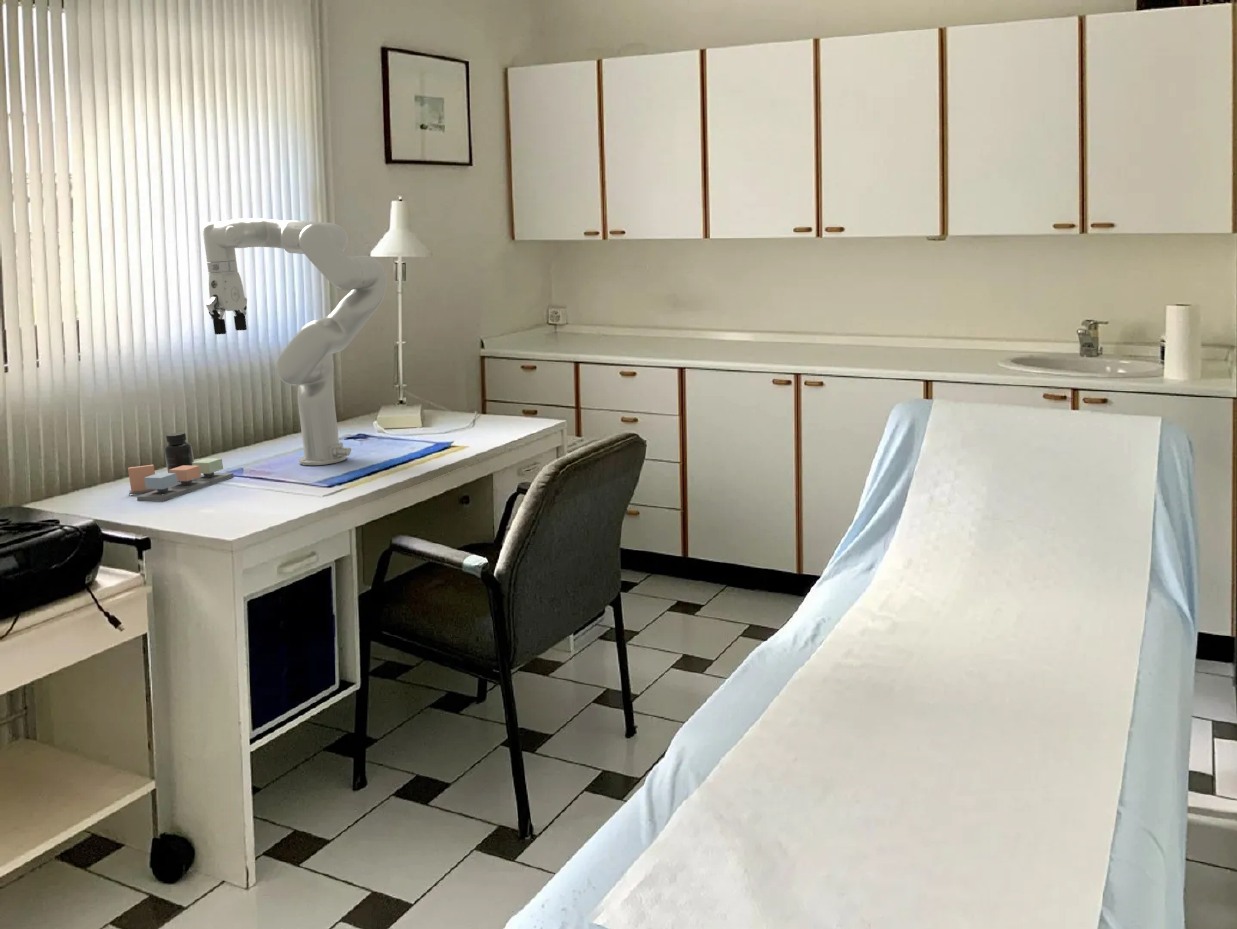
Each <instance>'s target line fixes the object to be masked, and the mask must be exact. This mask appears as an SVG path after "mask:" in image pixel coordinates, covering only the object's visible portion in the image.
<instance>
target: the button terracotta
mask: <svg viewBox="0 0 1237 929" xmlns="http://www.w3.org/2000/svg"><path fill="white" fill-rule="evenodd" d="M169 473H176V474H177V481H178V482H181V484H186V483H191V482H192V479H195V478H198V477H201V475H202V473H201V472H200V466H192V465H183V466H179V467H176V468H173V469H170V470H169Z"/></svg>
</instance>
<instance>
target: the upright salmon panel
mask: <svg viewBox="0 0 1237 929" xmlns="http://www.w3.org/2000/svg"><path fill="white" fill-rule="evenodd" d="M127 471H128V472H127V473H128V477H129V485H130V490H129V492H128V493H129V494H139V495H143V494H146V493H149V492H152V491H155V490H157V489H146V485H145V477H148V476H151V475H154V474H156V472H155V471H156V470H155V466H154V464H149V465H148V464H147V465H141V466H139V465H138V466H131V467H127Z"/></svg>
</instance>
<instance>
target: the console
mask: <svg viewBox="0 0 1237 929" xmlns="http://www.w3.org/2000/svg"><path fill="white" fill-rule="evenodd" d="M234 476H235V475H234V472H214V475H211V476H204V475H203V474H201V477H198V478H195V479H192V482H191V483H186V484H181V481H178V484H177V485H174V486H171V487H168V490H167V491H162V492H157V490H155V491H152V492H149V493H146V494H139V495H136V500H137V501H139V500H144V501H146V502H147V501H148V502H165V501H168V500H170V499H175V498H177V497H180V496H183V495H186V494H189V493H191V492H195V491H197V490H200V489H202V488H203V489H204V488H206V487H208V486H209V487H210V486H212V485H215V484H217V483H220V482H223V481H226V480H228V479H232V478H234Z"/></svg>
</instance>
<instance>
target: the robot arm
mask: <svg viewBox="0 0 1237 929" xmlns="http://www.w3.org/2000/svg"><path fill="white" fill-rule="evenodd" d="M202 233H203V234H202V235H203V243H204V250H205V256H206V257H205V258H206V264H207V272H208V293H209V294H208V295H209V300H208V301H207V303H206V308H207V310H208V313H209V315H210V317H211V318H210V319H211V320H212V323H213V330H214V334H215V335H226V334H227V327H226V320H225V318H224V315H225V312H233V314H234V316H233V319H234V327H235V331H246V330H247V328H248V327H247V320H246V314H247V304H248V298H247V297H245V291H244V287H243V281H242V278H241V275H240V272H238V271H239V270H238V263H237V254H236V249H247V248H271V249H272V248H274V249H282V250H284V251H285V252H287V253H289V254H297V255H298V254H299V255H305V257H307V259H308V260H309V261H310V262H311V264H313V266H314V267H316V269H317V270H318V271H319V272H320V274H322V275H323V277H324V278H325V279H326V280H327V281H328V282H329V283H330V284H331V285H333V287H335V288H336V289H338V290H340V291H347V292H348V291H349V292H348V293H347V294H346V295H345V296H344V297H343V298H342V299H341V300H340V301H339V302H338V303H337V305H336V306H335V307H334V308H333V310H332V311H331V312H330V313H329V314H328V315H326V316H325V317H322V318H316V319H314V320H311V321H309V322H307V323H306V324H304V325H303V326H302V327H301V328H300V329H299V331H297V333H296V334H295V336H294V337H293V338H292V339H291V340H290V341H289V343H288V344H287V345H286V346H285V348H284V349H283V350H282V351H281V354H280V355H279V356H278V359H277V361H276V373H277V374H276V375H277V377H278V378H279V380H280V381H282V382H283V383H285V384H287V385H289V386H297V404H298V413H299V421H300V422H299V423H300V429H301V430H300V431H301V439H302V447H303V448H302V449H303V453H304V454H303V456H302V457H300V458H299V459H298V462H299V463H298V464H300V465H302V466H323V465H329V464H330V465H331V464H336V463H340V462H344V461H346V460H347V459H348V458H347V456H350V455H351V453H352V448H351V447H344V443H343V442H340V438H339V429H338V422H337V420H338V419H337V413H336V412H337V411H336V405H335V404H336V402H335V392H334V369H335V368H334V365H335V364H334V359H333V357H332V354H333V355H334V354H336V353H339V352H342V351H343V350H345V349H346V348H347V347H348V346H349V345H350V343H351V342H352V341H353V340H354V339H355V337H357V335H358V333H359V332H360V331H361V330H362V329H363V327H364V326H365V324H366V323H367V322H368V321H369V319H370V318H371V317H372V315H373V314H374V313H375V312H376V311H377V310H378V308H379V307H380V305H381V303H382V302H383V300H384V298H385V295H386V292H387V286H388V283H387V282H388V281H387V280H388V279H387V273H386V271H385V268H384V266H383V265H382V263H381V262H380V261H379V260H378V259H377V258H375V257H373V256H370V255H362V254H361V255H351V256H348V255H347V254H346V252H344V251H345V250H346V248H347V247H348V243H349V237H348V233H347V232H346V230H345V229H344V228H343V227H342V226H341V225H338V223H337V224H336V223H333V222H324V221H323V222H322V221H321V222H320V221H307V220H306V221H305V220H291V219H287V220H282V219H281V220H280V219H270V218H269V219H267V218H266V219H265V218H238V219H237V218H236V219H230V220H226V221H225V220H223V221H210V222H209V221H208V222H205V223H204V224H203V225H202Z"/></svg>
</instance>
